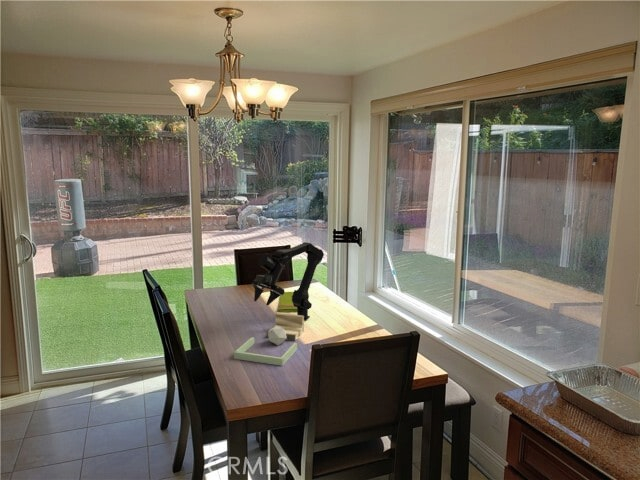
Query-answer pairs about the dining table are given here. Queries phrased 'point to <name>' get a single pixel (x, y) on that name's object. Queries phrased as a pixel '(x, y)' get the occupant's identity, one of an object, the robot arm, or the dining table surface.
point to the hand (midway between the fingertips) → (260, 303)
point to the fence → (243, 355)
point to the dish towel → (286, 303)
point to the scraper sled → (290, 325)
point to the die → (277, 335)
